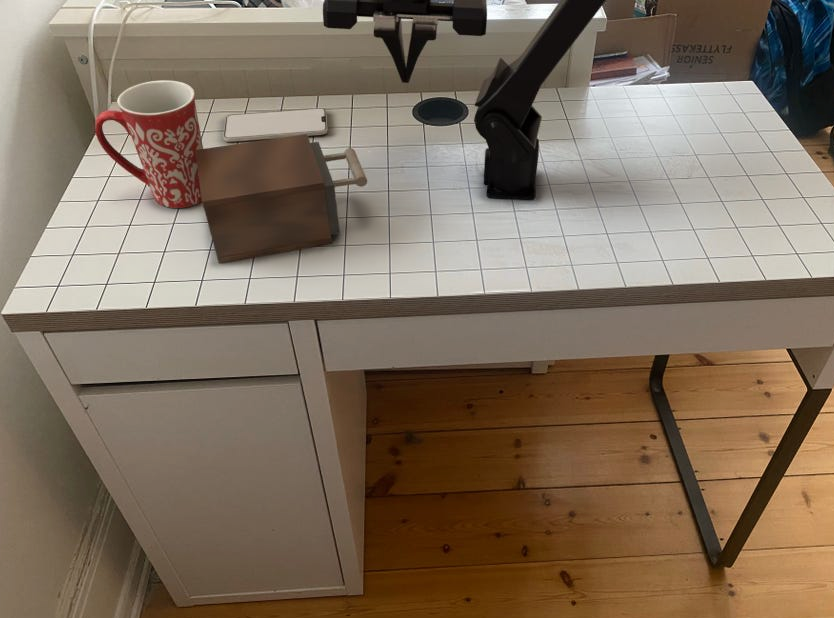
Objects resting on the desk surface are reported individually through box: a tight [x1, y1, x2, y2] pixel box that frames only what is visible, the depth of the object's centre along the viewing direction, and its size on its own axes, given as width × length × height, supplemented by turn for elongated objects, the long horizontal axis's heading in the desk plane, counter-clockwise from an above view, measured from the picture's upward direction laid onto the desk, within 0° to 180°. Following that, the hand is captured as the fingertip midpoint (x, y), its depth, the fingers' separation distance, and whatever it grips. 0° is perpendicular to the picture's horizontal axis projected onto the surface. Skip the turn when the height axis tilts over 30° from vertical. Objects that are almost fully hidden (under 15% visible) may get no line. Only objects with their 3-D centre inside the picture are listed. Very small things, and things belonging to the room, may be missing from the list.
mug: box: [94, 79, 204, 209], centre depth 94 cm, size 13×9×14 cm
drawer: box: [310, 141, 368, 235], centre depth 92 cm, size 17×10×7 cm, turn 107°
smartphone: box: [222, 107, 329, 143], centre depth 112 cm, size 7×1×15 cm
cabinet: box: [195, 134, 333, 264], centre depth 91 cm, size 14×12×9 cm
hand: (405, 81), depth 93 cm, fingers closed
